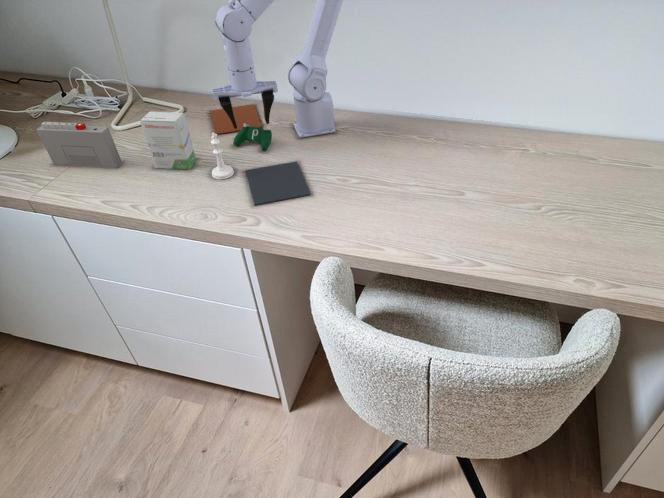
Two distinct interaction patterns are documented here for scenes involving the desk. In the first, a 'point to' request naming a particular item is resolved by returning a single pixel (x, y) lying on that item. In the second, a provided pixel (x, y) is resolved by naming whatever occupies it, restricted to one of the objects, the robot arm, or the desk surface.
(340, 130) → the desk surface
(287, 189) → the slate mat
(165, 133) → the ink box
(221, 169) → the chess piece
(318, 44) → the robot arm
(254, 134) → the gaming controller
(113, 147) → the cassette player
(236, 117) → the cork mat
